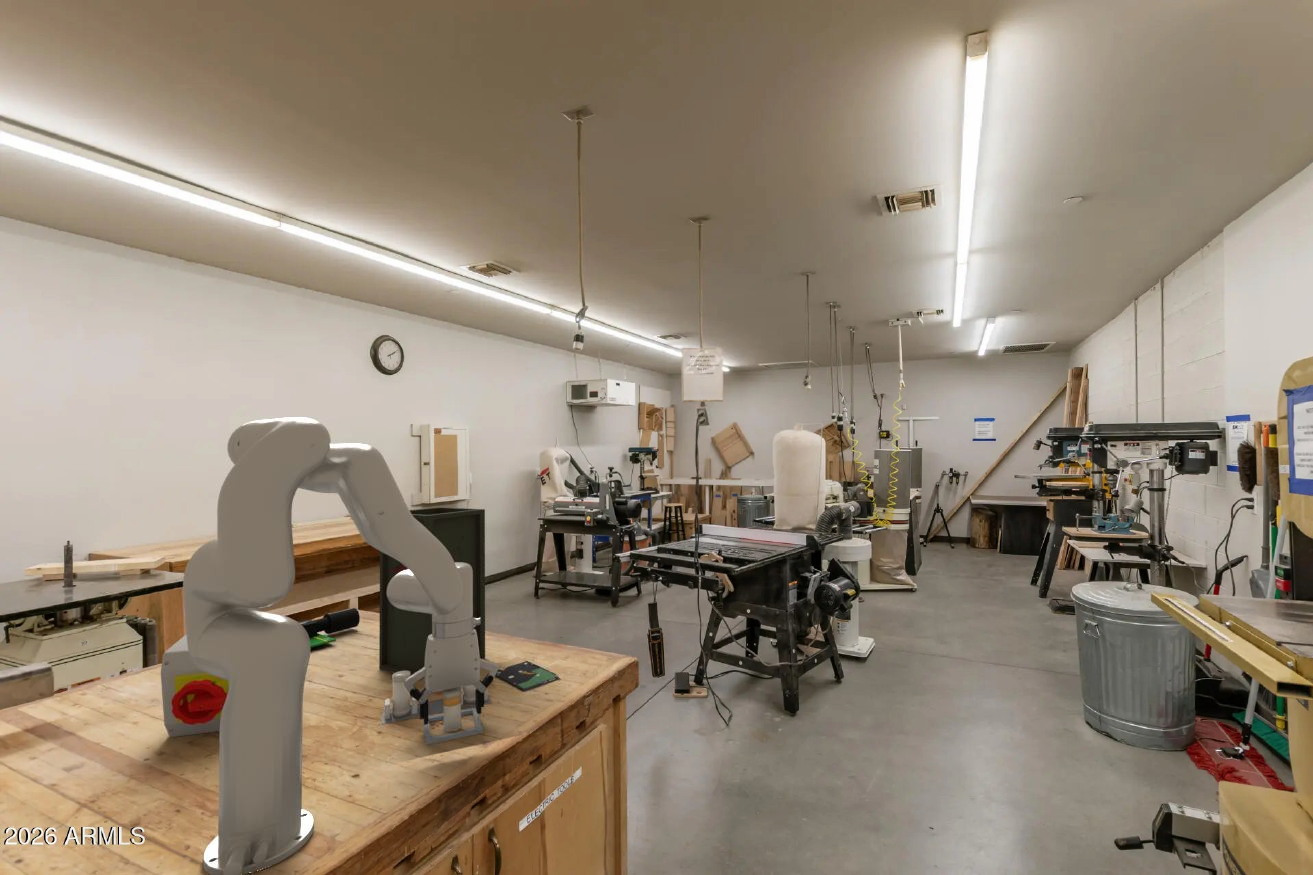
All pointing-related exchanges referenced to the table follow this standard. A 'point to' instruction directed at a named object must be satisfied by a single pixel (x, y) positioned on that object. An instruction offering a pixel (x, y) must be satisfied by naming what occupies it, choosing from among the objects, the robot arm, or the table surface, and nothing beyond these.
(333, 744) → the table surface
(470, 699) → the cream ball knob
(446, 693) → the cylinder
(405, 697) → the domed white capsule
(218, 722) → the electrical switch box
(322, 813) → the table surface
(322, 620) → the electronic board model
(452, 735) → the tray
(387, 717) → the fuse holder
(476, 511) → the first aid box
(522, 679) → the disk drive
